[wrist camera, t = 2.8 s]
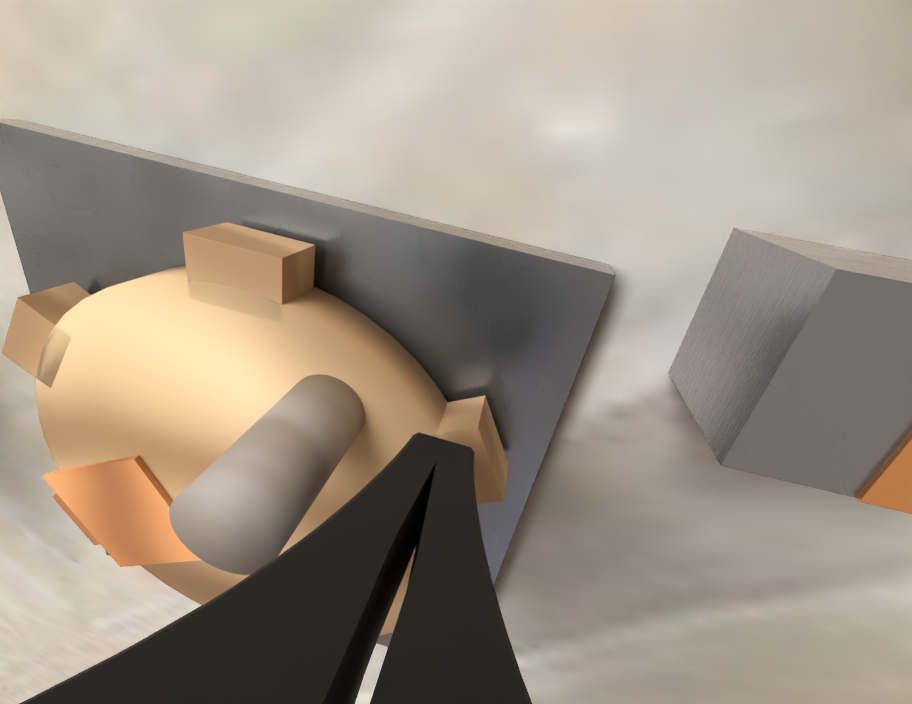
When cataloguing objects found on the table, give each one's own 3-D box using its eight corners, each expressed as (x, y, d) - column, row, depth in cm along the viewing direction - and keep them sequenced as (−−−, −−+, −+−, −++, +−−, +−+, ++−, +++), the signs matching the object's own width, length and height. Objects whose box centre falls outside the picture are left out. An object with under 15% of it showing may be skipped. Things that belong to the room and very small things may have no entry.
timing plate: (463, 645, 19) (459, 675, 18) (125, 536, 20) (102, 558, 19) (608, 264, 11) (617, 277, 10) (20, 119, 12) (-31, 116, 11)
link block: (1008, 277, 9) (1305, 358, 6) (895, 420, 11) (1065, 550, 7) (731, 227, 10) (841, 270, 6) (666, 370, 12) (722, 468, 8)
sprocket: (441, 658, 17) (401, 857, 12) (115, 552, 18) (-38, 695, 14) (561, 308, 10) (581, 457, 5) (9, 166, 11) (-410, 176, 6)
